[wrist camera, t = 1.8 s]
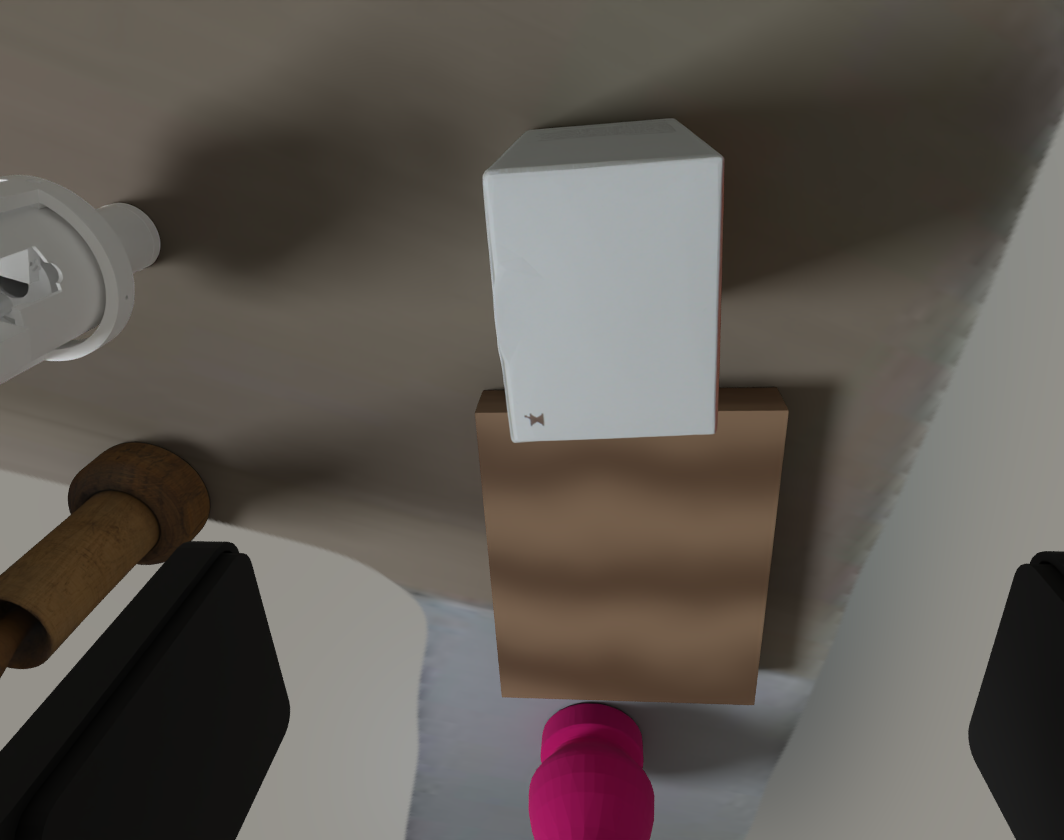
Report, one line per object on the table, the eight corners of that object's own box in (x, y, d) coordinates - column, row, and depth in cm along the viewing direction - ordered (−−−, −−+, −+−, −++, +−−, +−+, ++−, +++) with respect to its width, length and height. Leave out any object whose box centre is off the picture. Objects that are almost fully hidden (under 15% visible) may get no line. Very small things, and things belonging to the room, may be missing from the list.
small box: (678, 305, 33) (719, 442, 21) (539, 313, 34) (506, 449, 22) (679, 112, 29) (728, 151, 18) (523, 125, 30) (474, 171, 19)
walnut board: (483, 390, 36) (475, 413, 34) (776, 387, 34) (788, 410, 32) (507, 664, 44) (501, 697, 42) (746, 670, 42) (753, 705, 40)
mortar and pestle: (190, 438, 39) (-104, 712, 22) (225, 539, 41) (-14, 846, 25) (75, 444, 39) (-288, 712, 23) (117, 542, 42) (-181, 842, 26)
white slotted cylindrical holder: (197, 327, 36) (-46, 491, 22) (54, 285, 35) (-280, 427, 22) (207, 183, 32) (-71, 273, 19) (50, 136, 32) (-345, 194, 19)
